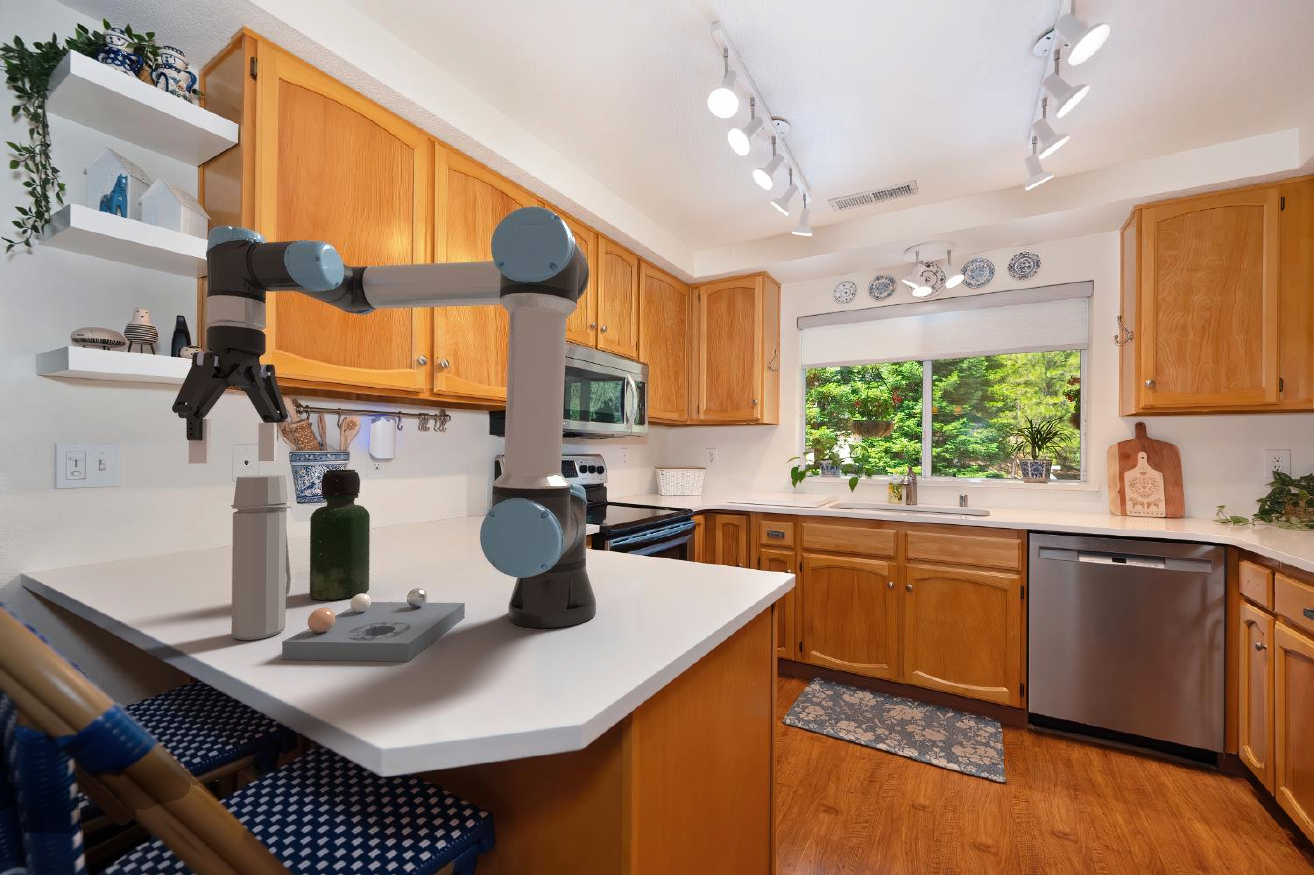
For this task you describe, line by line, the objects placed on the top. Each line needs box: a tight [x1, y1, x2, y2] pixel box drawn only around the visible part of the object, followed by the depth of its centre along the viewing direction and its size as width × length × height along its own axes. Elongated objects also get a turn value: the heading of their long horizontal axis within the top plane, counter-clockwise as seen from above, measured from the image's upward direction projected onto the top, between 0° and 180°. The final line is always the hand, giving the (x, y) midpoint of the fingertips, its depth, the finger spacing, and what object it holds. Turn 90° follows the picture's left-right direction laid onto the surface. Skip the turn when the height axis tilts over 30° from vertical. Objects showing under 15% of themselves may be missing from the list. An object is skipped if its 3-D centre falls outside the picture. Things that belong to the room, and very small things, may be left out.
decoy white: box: [350, 593, 372, 613], centre depth 92 cm, size 3×3×3 cm
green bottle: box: [309, 469, 371, 601], centre depth 113 cm, size 10×10×25 cm
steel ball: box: [406, 587, 428, 608], centre depth 95 cm, size 3×3×3 cm
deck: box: [281, 601, 466, 663], centre depth 88 cm, size 18×20×2 cm
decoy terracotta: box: [307, 607, 336, 633], centre depth 82 cm, size 4×4×4 cm
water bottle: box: [230, 474, 292, 641], centre depth 90 cm, size 9×8×25 cm
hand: (236, 462), depth 89 cm, fingers open, 13 cm apart
